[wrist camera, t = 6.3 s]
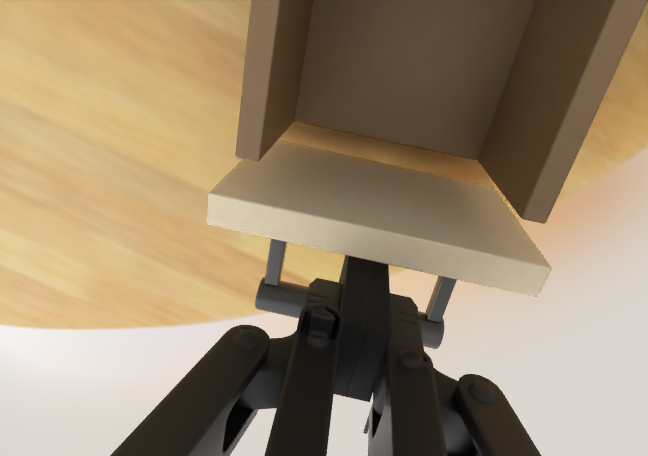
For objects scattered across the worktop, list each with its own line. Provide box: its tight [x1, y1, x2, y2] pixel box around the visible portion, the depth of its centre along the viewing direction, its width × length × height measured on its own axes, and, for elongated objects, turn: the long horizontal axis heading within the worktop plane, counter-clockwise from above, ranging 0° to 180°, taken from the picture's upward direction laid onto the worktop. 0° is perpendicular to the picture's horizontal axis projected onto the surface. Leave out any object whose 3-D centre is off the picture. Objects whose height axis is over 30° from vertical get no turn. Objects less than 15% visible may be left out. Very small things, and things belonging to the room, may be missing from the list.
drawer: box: [207, 0, 648, 349], centre depth 16 cm, size 18×11×8 cm, turn 169°
